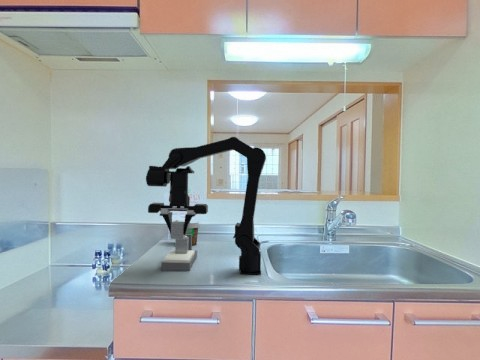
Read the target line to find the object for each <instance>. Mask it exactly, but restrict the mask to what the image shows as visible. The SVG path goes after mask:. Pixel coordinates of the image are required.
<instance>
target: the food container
mask: <svg viewBox="0 0 480 360" xmlns="http://www.w3.org/2000/svg"><path fill="white" fill-rule="evenodd" d="M175 221H179V220H178V219H177V220H175ZM199 228H200V223H199V222H190V223H189V226H188V229H187V232H186V234H192V247H195V245H196V246H197V244H198V243H197V242H198V234H199V232H198V231H199Z"/></svg>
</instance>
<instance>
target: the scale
mask: <svg viewBox="0 0 480 360" xmlns="http://www.w3.org/2000/svg"><path fill="white" fill-rule="evenodd" d="M185 237H189V251H188V253H187V254H176V253H175V249H172V250H171V251H169V252H168V254H167V255H166V256H165V257H164V258H163V260H162V261H161V271H177V272H179V271H181V272H183V271H184V272H185V271H186V272H189V271H191V269H192V267H193V265H194V263H195V261H196V260H197V258H198V250H196V249H193V246H192V234H185Z"/></svg>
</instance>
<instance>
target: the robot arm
mask: <svg viewBox="0 0 480 360" xmlns="http://www.w3.org/2000/svg"><path fill="white" fill-rule="evenodd" d="M231 151H235V152H237V153H238V154H240V155H241V156H243V157H244V158H246V168H247V180H246V189H245V195H244V202H243V208H242V209H243V210H242V217H241V221H240V222H236V223H235V225H234V234H233V237H232V239H234V244H235V246H237V248H238V249H240V255H239V256H238V271H239V272H240V273H239V274H241V275H261V274H262V271H261V269H262V268H261V264H262V263H261V259H262V254H261V251H260V249H261V242H260V241H258V239H257V238H256V237H255V221H254V218H255V211H256V204H257V197H258V192H259V190H258V189H259V183H260V178H261V175H262V172H263V169H264V166H265V163H266V160H267V156H266V153H265V151H264V149H261V147H252V146H250V145H249V144H247V143H245V142H243V141H242V140H240V139H239V138H238V137H236V136H231V137H229V138H226V139H223V140H218V141H215V142H210V143H206V144H202V145H200V146H193V147H176V148H173V149H171V150H170V152H169V154H168V158H167V159H166V161H164V163H163V164H162V166H158V165H149V166H148V170H147V172H146V175H145V183H146V185H147V186H148V187H161V188H162V187H167V186H168V184H170V187H169V197H168V202H169V204H168V205H167V204H166V205H165V203H164V202H152V203H150V204H149V205H148V207H147V213H148V214H158V213H159V217H162V218H163V220H164V222H165V223H166V226H167V229H168V231H169V234H170V235H171V223H172V222H173V212H186V214H185V216H184V222H185V223H184V235H185V234H186V232H187V229H188V226H189V223H191V220H192V218H193V217H195V216H196V215H207V213H208V212H209V206H208V204H207V203H195V204H194V205H190V202H191V198H190V195H189V174H195V171H194V170H193V168H192V167H191V166H190V164H192V163H194V162H196V161H199V160H200V159H203V158H207V157H211V156H216V155H219V154H223V153H227V152H231ZM180 167H182V168H180ZM183 167H185V168H183ZM171 170H175V171H171Z"/></svg>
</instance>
